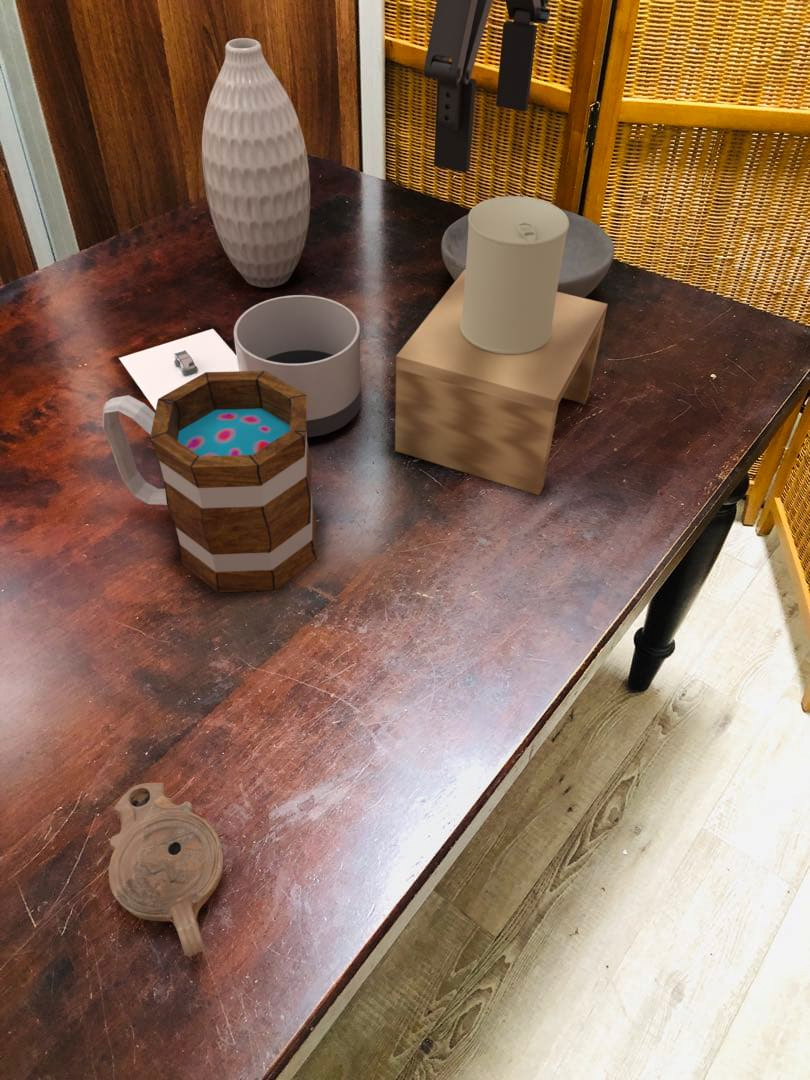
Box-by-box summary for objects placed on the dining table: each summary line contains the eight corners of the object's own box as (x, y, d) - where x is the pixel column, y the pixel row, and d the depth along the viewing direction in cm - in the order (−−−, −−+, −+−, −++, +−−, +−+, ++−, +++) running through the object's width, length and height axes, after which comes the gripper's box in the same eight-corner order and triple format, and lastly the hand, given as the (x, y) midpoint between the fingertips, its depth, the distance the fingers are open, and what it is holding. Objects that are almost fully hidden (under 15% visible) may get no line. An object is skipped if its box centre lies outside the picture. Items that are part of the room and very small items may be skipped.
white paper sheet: (157, 412, 97) (154, 401, 96) (118, 358, 103) (115, 347, 102) (256, 378, 101) (254, 367, 100) (213, 328, 108) (211, 318, 107)
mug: (343, 510, 87) (337, 386, 76) (287, 611, 78) (271, 487, 67) (165, 465, 91) (135, 341, 80) (93, 556, 82) (48, 431, 71)
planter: (382, 424, 96) (382, 342, 88) (275, 462, 91) (265, 379, 84) (328, 363, 103) (324, 283, 96) (226, 396, 99) (214, 314, 91)
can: (473, 359, 84) (483, 242, 75) (449, 308, 90) (457, 194, 81) (564, 349, 85) (585, 233, 77) (535, 299, 92) (551, 186, 83)
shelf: (588, 396, 100) (607, 303, 91) (539, 495, 89) (556, 400, 80) (457, 361, 104) (464, 269, 96) (394, 451, 93) (396, 355, 84)
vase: (246, 245, 122) (218, 19, 102) (330, 262, 120) (319, 33, 99) (201, 290, 114) (161, 53, 94) (291, 309, 111) (270, 70, 91)
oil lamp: (99, 820, 64) (82, 787, 60) (199, 781, 66) (188, 747, 63) (142, 997, 56) (125, 971, 52) (254, 946, 58) (246, 917, 55)
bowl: (474, 354, 105) (480, 295, 100) (416, 269, 119) (418, 212, 113) (631, 325, 110) (645, 267, 105) (558, 246, 124) (567, 191, 118)
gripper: (521, -223, 66) (494, 79, 81) (374, -177, 50) (376, 186, 66) (618, -215, 64) (572, 93, 79) (497, -164, 48) (469, 208, 64)
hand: (483, 136), depth 73 cm, fingers open, 13 cm apart
